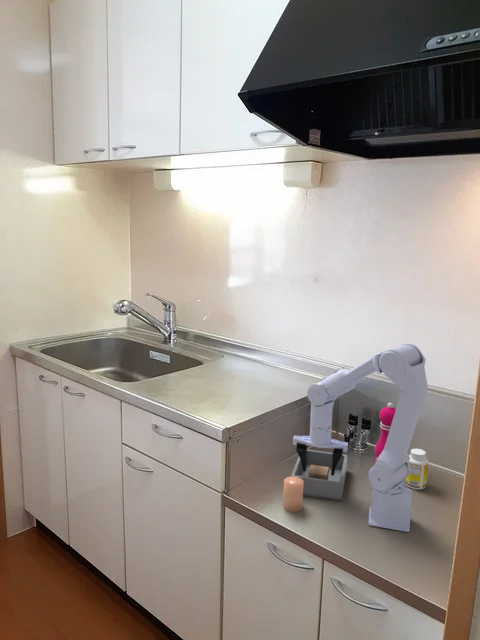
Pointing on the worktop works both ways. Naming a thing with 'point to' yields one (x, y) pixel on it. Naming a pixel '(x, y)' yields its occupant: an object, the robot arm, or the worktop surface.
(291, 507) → the terracotta cylinder
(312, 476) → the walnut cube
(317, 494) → the gray tote
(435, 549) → the worktop surface
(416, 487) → the supplement bottle
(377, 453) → the pepper mill
